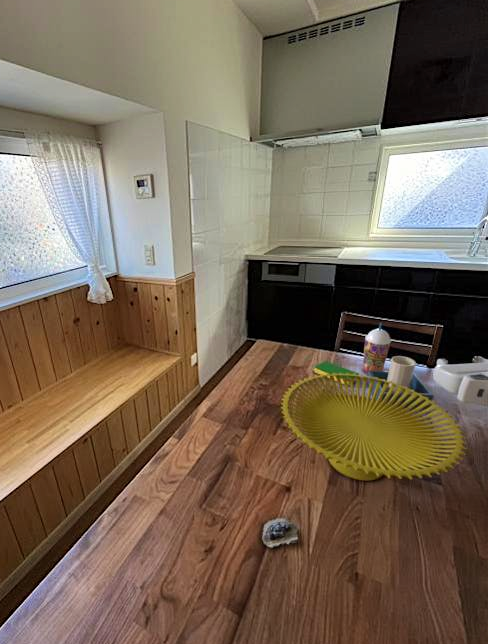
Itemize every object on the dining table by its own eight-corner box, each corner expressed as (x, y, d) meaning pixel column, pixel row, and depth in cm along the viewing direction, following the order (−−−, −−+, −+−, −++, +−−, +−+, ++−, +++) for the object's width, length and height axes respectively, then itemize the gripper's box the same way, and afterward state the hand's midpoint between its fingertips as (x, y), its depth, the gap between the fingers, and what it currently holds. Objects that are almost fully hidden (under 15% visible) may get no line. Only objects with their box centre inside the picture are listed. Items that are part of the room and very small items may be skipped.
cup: (403, 386, 116) (410, 356, 111) (411, 398, 110) (419, 366, 105) (382, 386, 117) (388, 355, 112) (389, 397, 111) (396, 365, 106)
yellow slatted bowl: (247, 460, 91) (247, 415, 85) (321, 397, 115) (325, 358, 109) (417, 573, 63) (437, 518, 57) (468, 458, 87) (486, 410, 81)
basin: (410, 383, 119) (413, 371, 117) (430, 407, 106) (433, 395, 104) (366, 381, 122) (368, 370, 120) (380, 405, 109) (382, 393, 107)
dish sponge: (348, 386, 120) (349, 380, 119) (313, 372, 130) (314, 366, 129) (358, 379, 124) (359, 373, 123) (324, 365, 134) (325, 360, 133)
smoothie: (361, 375, 126) (369, 326, 118) (358, 364, 133) (366, 317, 125) (386, 378, 123) (396, 328, 115) (382, 367, 130) (391, 319, 122)
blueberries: (304, 538, 70) (305, 532, 70) (276, 558, 67) (276, 552, 66) (281, 513, 76) (281, 508, 75) (253, 531, 72) (254, 525, 72)
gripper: (553, 373, 76) (500, 346, 88) (461, 379, 76) (422, 352, 89) (543, 397, 78) (493, 367, 91) (454, 402, 79) (417, 372, 91)
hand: (457, 359), depth 90 cm, fingers open, 8 cm apart
